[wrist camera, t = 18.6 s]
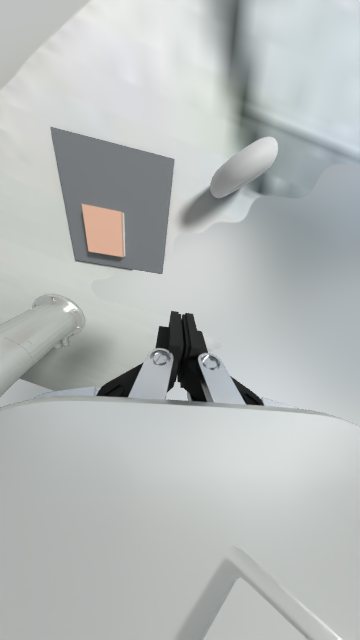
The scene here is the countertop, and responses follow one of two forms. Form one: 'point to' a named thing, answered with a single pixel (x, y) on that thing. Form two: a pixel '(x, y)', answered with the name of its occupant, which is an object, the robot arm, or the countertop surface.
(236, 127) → the countertop surface
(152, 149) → the countertop surface
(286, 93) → the countertop surface
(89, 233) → the tile
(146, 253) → the mat
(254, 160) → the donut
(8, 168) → the countertop surface
